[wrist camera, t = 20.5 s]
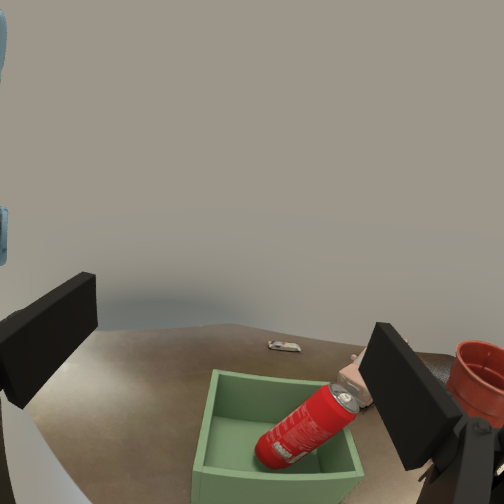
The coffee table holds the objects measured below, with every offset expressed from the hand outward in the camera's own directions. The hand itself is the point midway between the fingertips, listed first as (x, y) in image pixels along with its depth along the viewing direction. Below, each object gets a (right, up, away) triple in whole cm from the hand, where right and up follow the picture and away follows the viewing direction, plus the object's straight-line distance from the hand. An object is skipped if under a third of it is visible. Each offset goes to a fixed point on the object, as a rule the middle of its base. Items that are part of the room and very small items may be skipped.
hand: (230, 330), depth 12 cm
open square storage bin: (+2, -23, +16) cm, 28 cm away
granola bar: (+7, -17, +45) cm, 48 cm away
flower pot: (+33, -28, +17) cm, 47 cm away
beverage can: (+3, -21, +15) cm, 26 cm away
